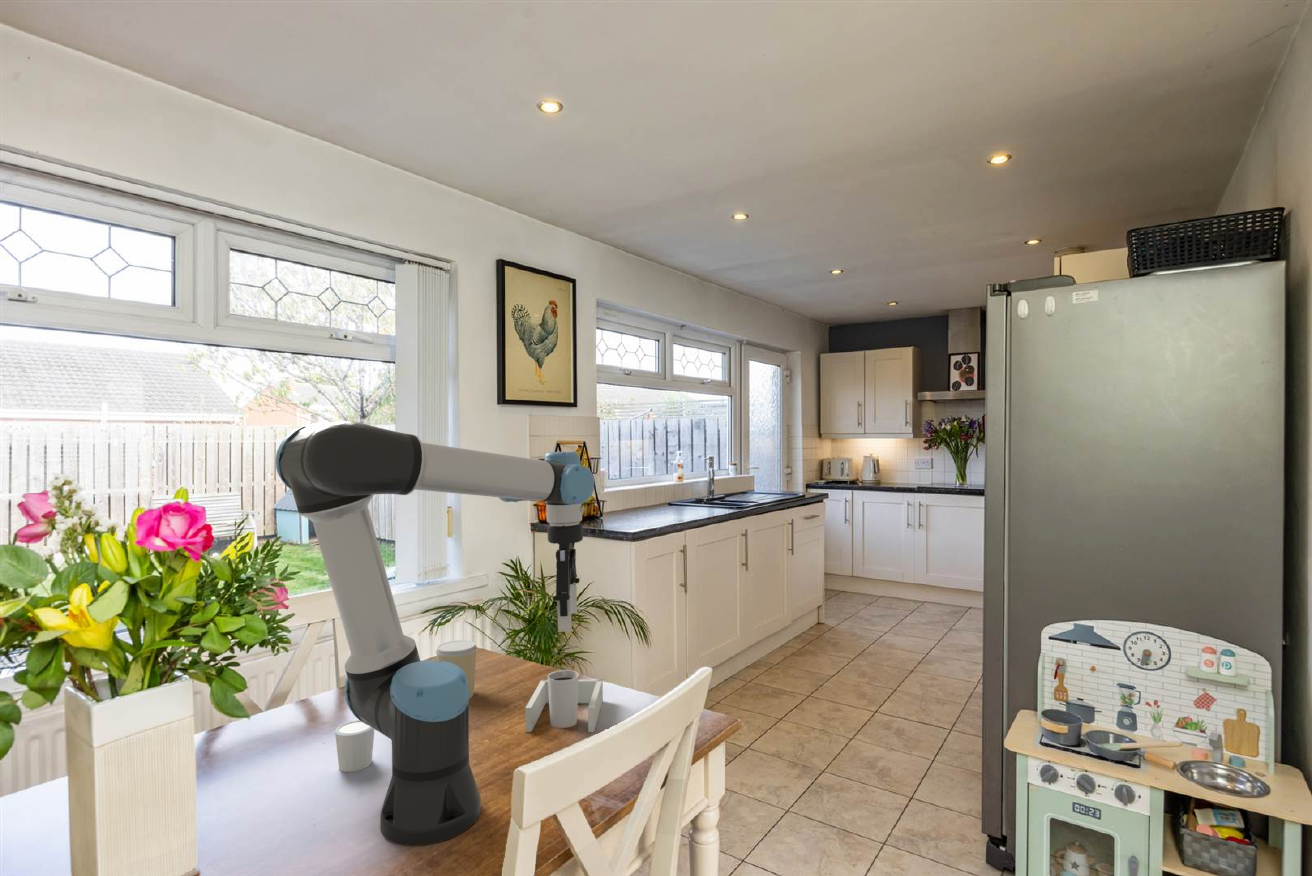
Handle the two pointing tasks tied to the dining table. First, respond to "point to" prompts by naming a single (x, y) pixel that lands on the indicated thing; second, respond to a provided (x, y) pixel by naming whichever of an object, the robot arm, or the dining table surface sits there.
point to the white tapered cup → (354, 746)
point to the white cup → (563, 698)
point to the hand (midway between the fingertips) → (568, 621)
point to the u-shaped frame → (586, 694)
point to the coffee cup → (460, 658)
